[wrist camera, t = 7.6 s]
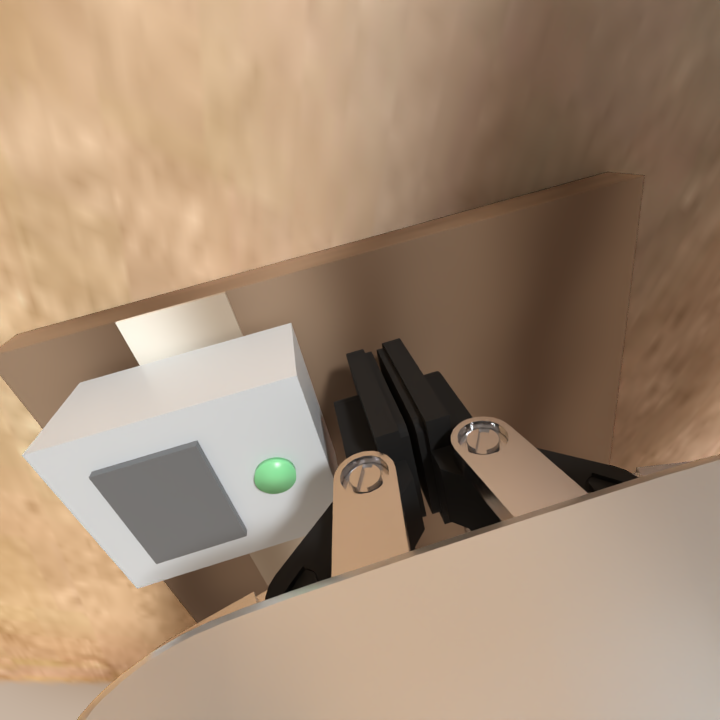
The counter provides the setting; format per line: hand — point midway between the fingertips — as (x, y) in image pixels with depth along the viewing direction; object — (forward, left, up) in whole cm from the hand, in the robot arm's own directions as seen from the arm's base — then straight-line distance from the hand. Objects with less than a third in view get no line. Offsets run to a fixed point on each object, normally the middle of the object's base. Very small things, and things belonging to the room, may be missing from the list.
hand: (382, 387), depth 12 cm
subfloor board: (0, +4, -3) cm, 5 cm away
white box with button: (+5, 0, -1) cm, 5 cm away
